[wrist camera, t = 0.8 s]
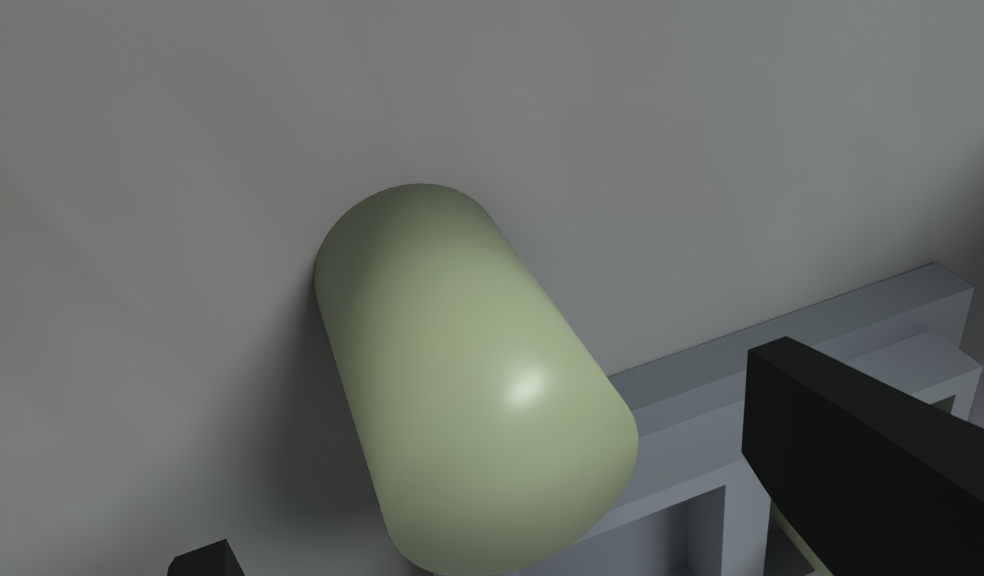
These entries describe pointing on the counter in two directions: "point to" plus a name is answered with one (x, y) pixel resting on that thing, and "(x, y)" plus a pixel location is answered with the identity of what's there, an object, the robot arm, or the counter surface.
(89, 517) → the counter surface
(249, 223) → the counter surface
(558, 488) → the peg
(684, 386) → the housing
